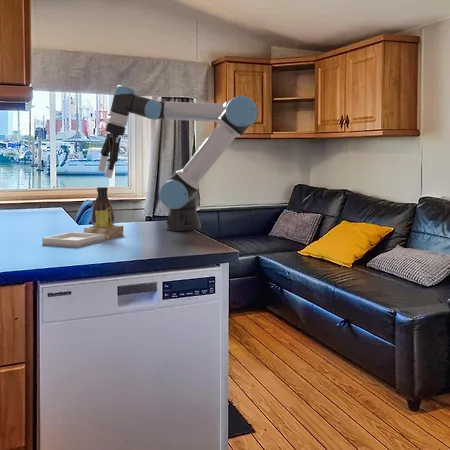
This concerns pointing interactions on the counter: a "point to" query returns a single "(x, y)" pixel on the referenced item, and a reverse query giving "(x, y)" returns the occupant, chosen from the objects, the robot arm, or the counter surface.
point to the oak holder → (106, 231)
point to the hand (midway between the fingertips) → (104, 174)
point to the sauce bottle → (103, 209)
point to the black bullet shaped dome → (93, 218)
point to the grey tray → (73, 239)
